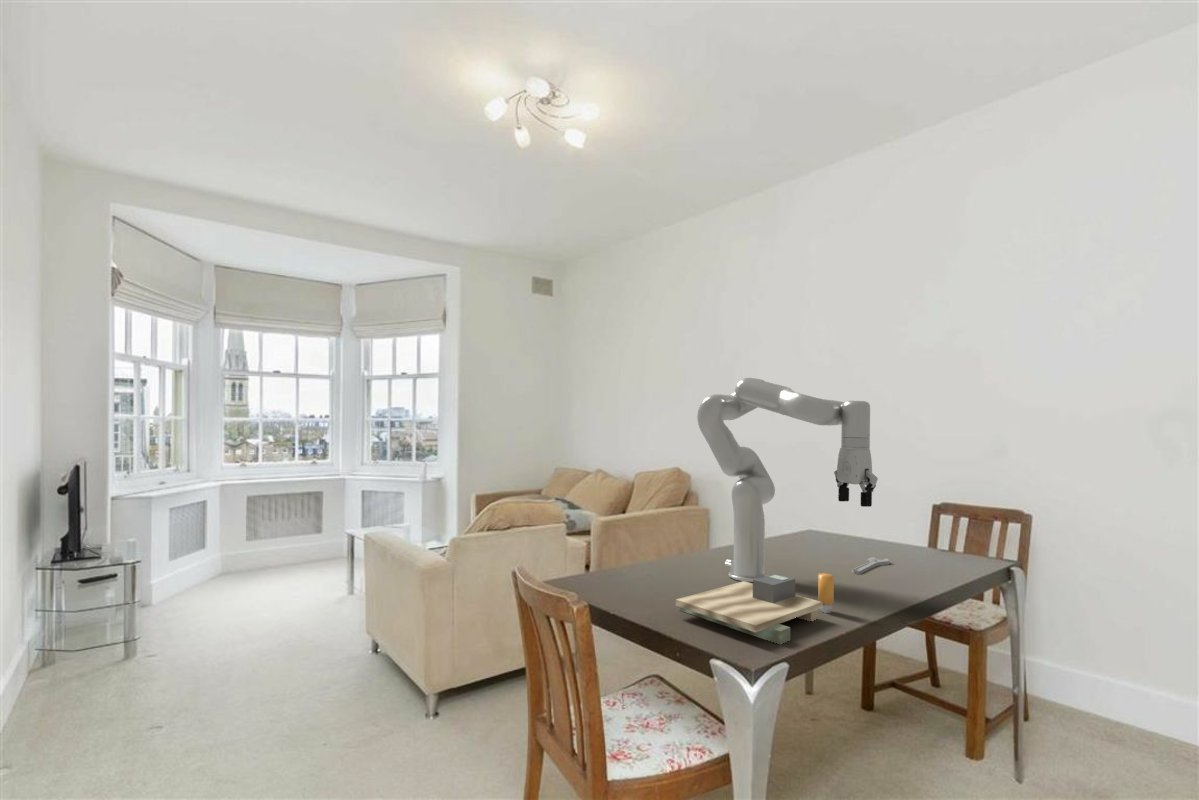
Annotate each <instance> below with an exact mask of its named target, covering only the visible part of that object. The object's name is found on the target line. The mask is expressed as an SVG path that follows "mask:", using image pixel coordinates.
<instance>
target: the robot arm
mask: <svg viewBox="0 0 1199 800" xmlns="http://www.w3.org/2000/svg"><path fill="white" fill-rule="evenodd" d="M734 387H735V388H734V392H732V393H730V394H729V395H728V394H718V393H717V394H711V395H708V396H707V397H705V398H704V399H703V400H702V402H701V403H700V405H699V407H698V409H697V416H696V417H697V419H696V420H697V425H698V428H699V430H700V432H701V433H702V435H703V437H704V439H705V441H706V443H707V444H708V446H709V448H710V450H711V452H712V455H713V456H714V458H715V459H716V462H717V463H718V465H719V467H720V469H721V471H722V473H723V474H724V475H726V476H728V477H733V478H734V477H738V478H739V479H738V480H737V481H736V482H735V483H734V484H733V486H732V490H731V501H732V507H733V508H732V509H733V559H730V558H727V559H726V560H725V562H724V566H725V567H730V570H729V571H728V577H730V578H731V579H733V580H735V581H739V582H742V581H745V582H749V583H753V580H754V579H758V578H762V577H765V576H769V575H770V574H769V573H768V572H766V571H765V558H766V557H765V555H766V554H765V548H766V547H765V546H766V545H765V543H766V542H765V541H766V539H765V535H766V534H765V533H766V531H765V529H766V528H765V526H766V525H765V524H766V522H765V521H766V520H765V514H764V513H765V512H764V508H763V505H766V504H768V503H769V502H771V501H772V500H773V498H774V497H775V492H776V488H775V484H774V482H773V479H772V477H771V476H770V474H769V473H768V471H767V469H766V467H765V465H764V464H763V462H762V461H761V459H760V457H759V455H758V454H757V453H756V452H755V451H754V450H753V449H752V448H749V447H746V446H740V445H739V443H738V441H737V440H736V438H735V436H734V434H733V432H732V431H731V430H730V428H729V427H728V426H727V425H726V424H725V422H724V421H735V420H737V419H739V418H741V417H742V416H744V415H747V414H748V413H750V412H752V411H754V410H756V409H757V408H759V409H764V410H765V411H769V412H773V413H775V414H776V413H777V414H780V415H782V416H787V417H790V418H792V419H796V420H799V421H803V422H805V423H809V424H814V425H818V426H838V425H839V426H840V425H841V431H840V432H841V433H840V434H841V440H840V441H841V442H840V443H841V445H840V446H841V447H839V452H838V458H837V465H836V470H835V471H834V473H833V474H834V476H835V481H836V484H837V485H836V486H837V488H838V495H837V496H838V497H837V498H838V502H849V501H850V487H849V485H859V487H860V488H861V491H860V507H867V508H868V507H869V508H870V507H872V504H873V502H872V501H873V493H874V491H875V490H874V489H875V488H876V485H877V483H878V479H879V478H878V476H876V475H875V474H874V473H873V461H872V460H873V459H872V454H871V448H870V446H871V444H870V443H871V441H870V440H871V437H870V436H871V405H870V403H869V402H868V401H865V400H845V401H839V400H838V401H837V400H832V399H823V398H818V397H815V396H812V395H811V396H810V395H807V394H804V393H800V392H797V391H794V389H792V388H790V387H788V386H784V385H780V384H776V383H772V382H769V381H765V380H763V379H759V378H754V377H745V378H742V379H741V380H738V382H737V384H736V385H735V386H734Z"/></svg>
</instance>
